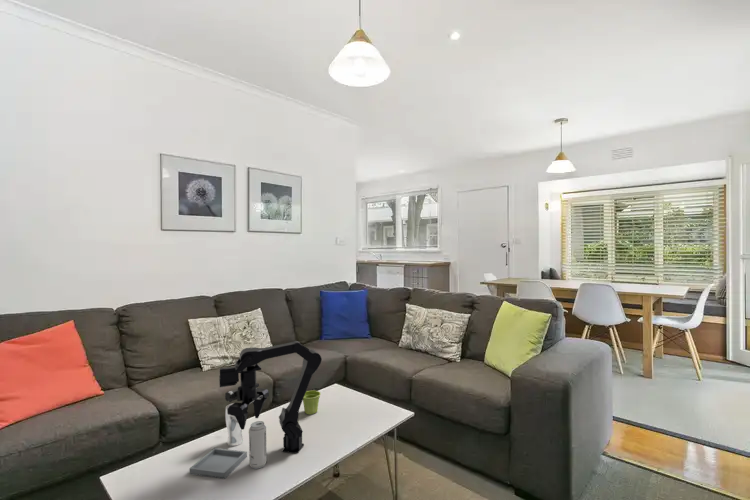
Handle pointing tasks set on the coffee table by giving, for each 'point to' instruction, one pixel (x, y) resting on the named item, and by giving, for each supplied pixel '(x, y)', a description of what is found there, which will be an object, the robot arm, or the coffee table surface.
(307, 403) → the plant pot
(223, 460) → the blue-gray tray
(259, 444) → the energy drink can
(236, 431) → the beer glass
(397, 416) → the coffee table surface
